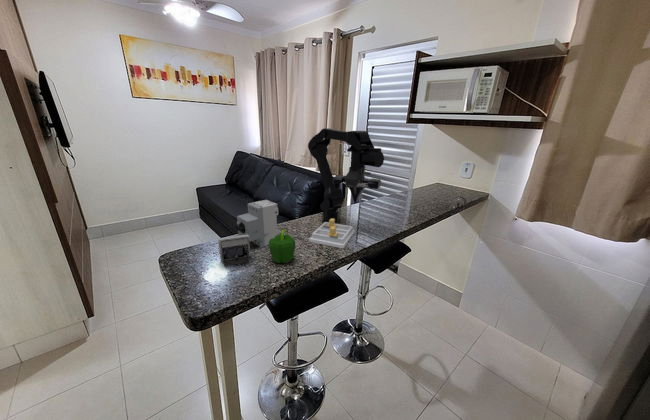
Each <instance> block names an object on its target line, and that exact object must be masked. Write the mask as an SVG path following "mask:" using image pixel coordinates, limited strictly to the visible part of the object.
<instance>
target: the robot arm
mask: <svg viewBox="0 0 650 420" xmlns="http://www.w3.org/2000/svg"><path fill="white" fill-rule="evenodd" d="M331 140H333V141H334V140H335V141H340V142H344V143H346V144H347V145H349V148H347V149H346V151H347V152H349V153H350V166H349V168H348V172H347V173H346V175H340V174H338V175H336V176H333V173H332V170H331V166H330V163H329V159H328V157H327V156H328V151H329V149H328V147H329V145H330V144H331ZM307 148H308V150H309V153H310V155H311V156H312V157H313V158H314V159H315V161H316V165H317V168H318V171H319V174H320V178H321V180H322V183H323V184H322V185H323V187H324V193H323V200H322V202H321V203H320V204H319V207H320V210H322V212H323V214H322V217H323V218H322V220H321V223H324V222H329V220H330V219H331V218H332V219H335V224H337V223H338V222H339V220H340V212H339V209H341V208H342V206H343V203H344V197H345V196H344V194H343V191H342V189H341V188H338V187H337V185H341V184H342V183H344V184H345V185H344V186H345V187H346V188H348V189H349V191H350V192H351V193H350V194H351V197H352V199H353V202H354V203H357V202H358V199H359V198H360V196H361V193H362V191H363V190H364V189H366V188H367V187H368V188H369V189H374V190H375V189H376V190H377V189H379V188H380V187H382V180H381V179H379V178H370V179H368V180H367V179H366V177H365V171H366V167H373V168H381V167H382V166H383V164H384V162H385V156H384V153H383V151H382V148H381V147H376V148H375V145H374V144H373V142H372V140H371V137H370V134H369V131H367V130H349V131H348V130H346V131H345V130H339V129H333V128H330V127H329V128H322V129H321V130H319V132H318V133H317V134H315V135H314V136H312V138H311V139H310V140H309V142H308V144H307Z"/></svg>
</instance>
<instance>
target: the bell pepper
mask: <svg viewBox="0 0 650 420" xmlns="http://www.w3.org/2000/svg"><path fill="white" fill-rule="evenodd" d="M285 233H286V229H282V230H281V234H280V233H279V234H278V235H277V236H275V238H272V239H270V241H269V245H268V246H269V254H270V256H271V258H272V260H273V262H275V263H276V264H281V263H283V264H284V263H285V264H286V263H287V264H288V263H289V262H291V261H292V259H293V258H294V255H295V250H296V241H295V239H294V238H293V237H292V236H291V235H290V234H288V233H287V234H285Z"/></svg>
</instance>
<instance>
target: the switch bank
mask: <svg viewBox="0 0 650 420" xmlns="http://www.w3.org/2000/svg"><path fill="white" fill-rule="evenodd" d="M328 225H329V222H322V224H321V225H320V226H319V227H318V228H316V230H314V231H313V232H312V233H311V237H309V238H308V242H309V243H310V242H311V243H314V244H319V245H324V246H328V247H329V246H330V247H335V248H338V249H339V248H340V249H345V247H346V246H347V244H348V243H349V242H348V241H350V240H351V239H352V237H353V236H354V235H355V233H356V230H355V229H354V226H351V225H346V224H341V223H335V225H336V233H338V234H337V237H336V236H328V234H329V233H330V228H331V227H328ZM354 232H355V233H354ZM353 234H354V235H353ZM352 235H353V236H352ZM350 238H351V239H350Z"/></svg>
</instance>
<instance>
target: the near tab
mask: <svg viewBox="0 0 650 420" xmlns="http://www.w3.org/2000/svg"><path fill="white" fill-rule="evenodd" d="M337 234H338V233H336V227H334V226H332V227H331V228H330V233H329V234H328V236H336V237H337Z"/></svg>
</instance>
